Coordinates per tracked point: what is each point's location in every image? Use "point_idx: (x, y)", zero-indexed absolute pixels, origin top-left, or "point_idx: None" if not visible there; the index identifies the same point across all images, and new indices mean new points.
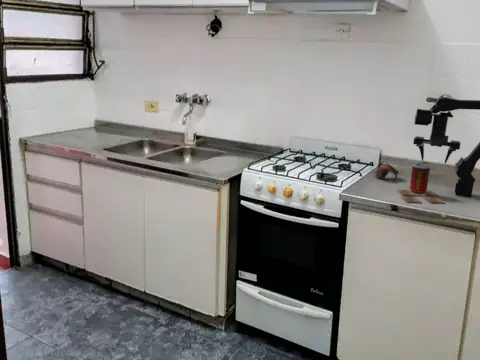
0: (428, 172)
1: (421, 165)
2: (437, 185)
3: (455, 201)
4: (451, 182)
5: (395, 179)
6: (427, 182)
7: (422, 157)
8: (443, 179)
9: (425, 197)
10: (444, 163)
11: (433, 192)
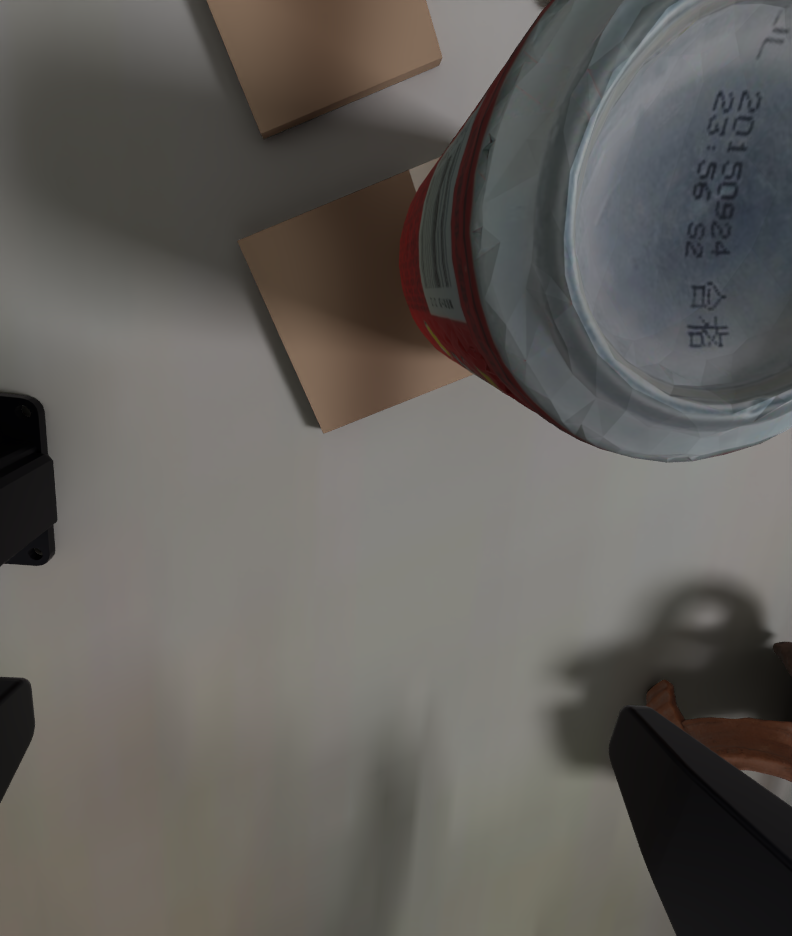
0: (481, 102)
1: (693, 357)
2: (254, 702)
3: (15, 85)
4: (126, 855)
5: (654, 689)
6: (422, 191)
7: (717, 771)
8: (202, 907)
9: (416, 21)
10: (24, 684)
11: (302, 350)
